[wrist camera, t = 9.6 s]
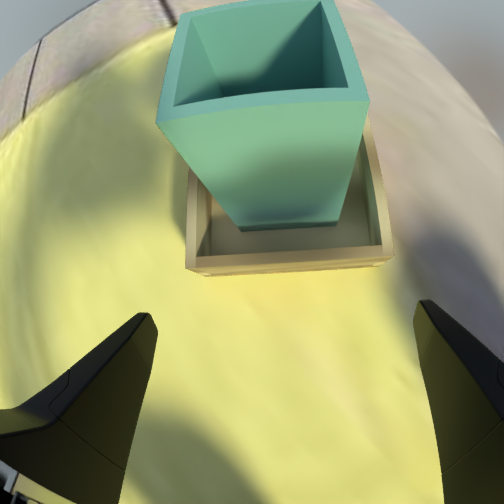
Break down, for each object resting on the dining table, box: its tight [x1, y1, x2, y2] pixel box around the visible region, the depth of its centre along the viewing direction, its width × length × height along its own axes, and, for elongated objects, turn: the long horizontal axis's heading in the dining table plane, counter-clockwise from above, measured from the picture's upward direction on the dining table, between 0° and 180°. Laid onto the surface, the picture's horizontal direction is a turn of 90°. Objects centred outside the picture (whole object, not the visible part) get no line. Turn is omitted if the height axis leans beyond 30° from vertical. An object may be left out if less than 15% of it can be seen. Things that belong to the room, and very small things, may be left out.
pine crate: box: [185, 115, 394, 276], centre depth 19 cm, size 11×11×4 cm
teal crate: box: [156, 0, 370, 232], centre depth 14 cm, size 6×6×12 cm
